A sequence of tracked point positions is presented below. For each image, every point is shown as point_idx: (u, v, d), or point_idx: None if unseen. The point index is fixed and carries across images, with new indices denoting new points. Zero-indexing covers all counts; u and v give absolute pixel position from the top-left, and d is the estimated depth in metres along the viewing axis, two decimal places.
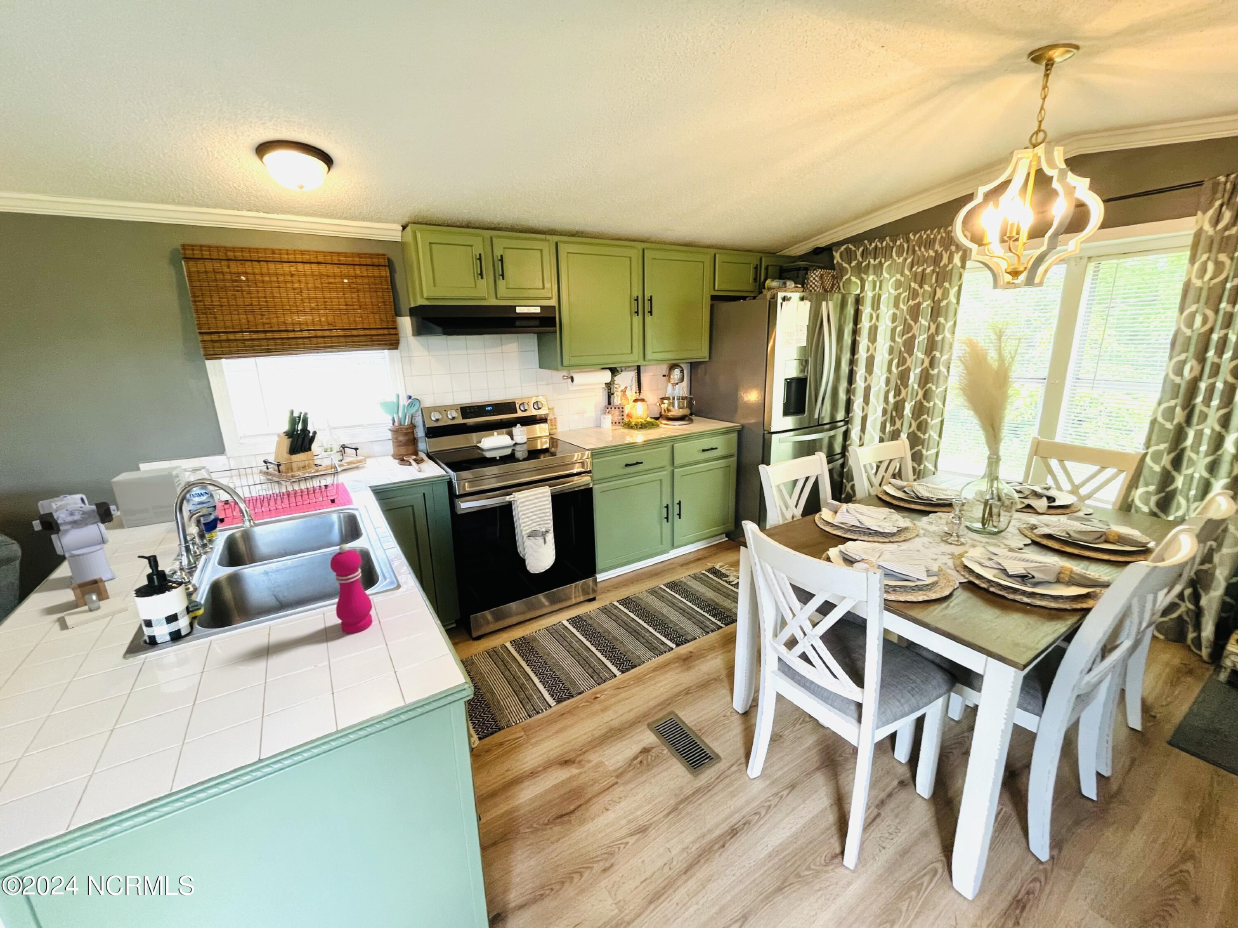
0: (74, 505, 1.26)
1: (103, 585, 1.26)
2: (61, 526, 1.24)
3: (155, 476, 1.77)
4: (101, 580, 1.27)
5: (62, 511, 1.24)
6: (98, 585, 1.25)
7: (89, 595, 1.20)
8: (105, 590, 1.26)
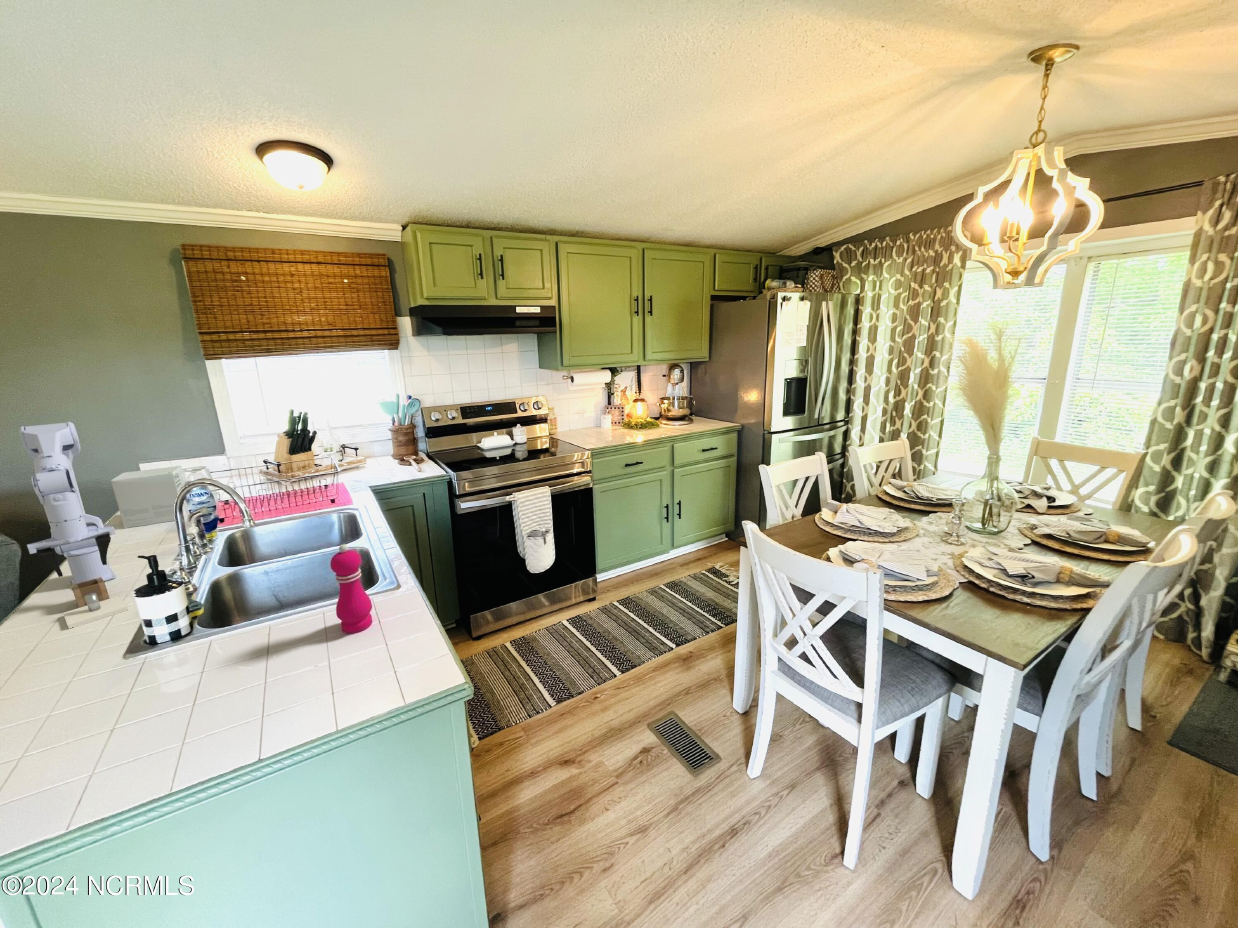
0: (76, 540, 1.20)
1: (103, 585, 1.26)
2: None
3: (155, 476, 1.77)
4: (101, 580, 1.27)
5: (62, 543, 1.19)
6: (98, 585, 1.25)
7: (89, 595, 1.20)
8: (105, 590, 1.26)
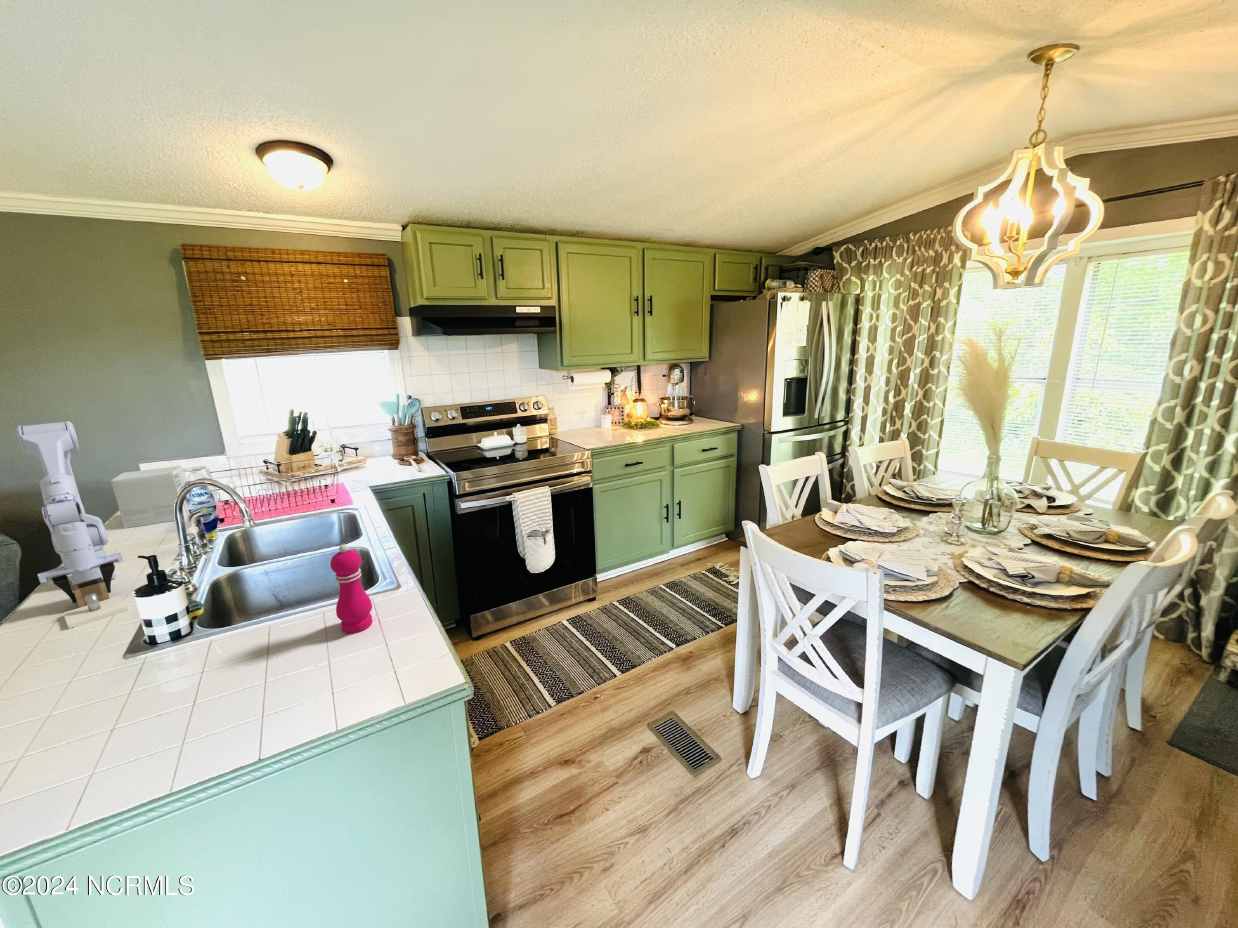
0: None
1: (103, 585, 1.26)
2: None
3: (155, 476, 1.77)
4: (101, 580, 1.27)
5: (71, 572, 1.21)
6: (98, 585, 1.25)
7: (89, 595, 1.20)
8: (105, 590, 1.26)
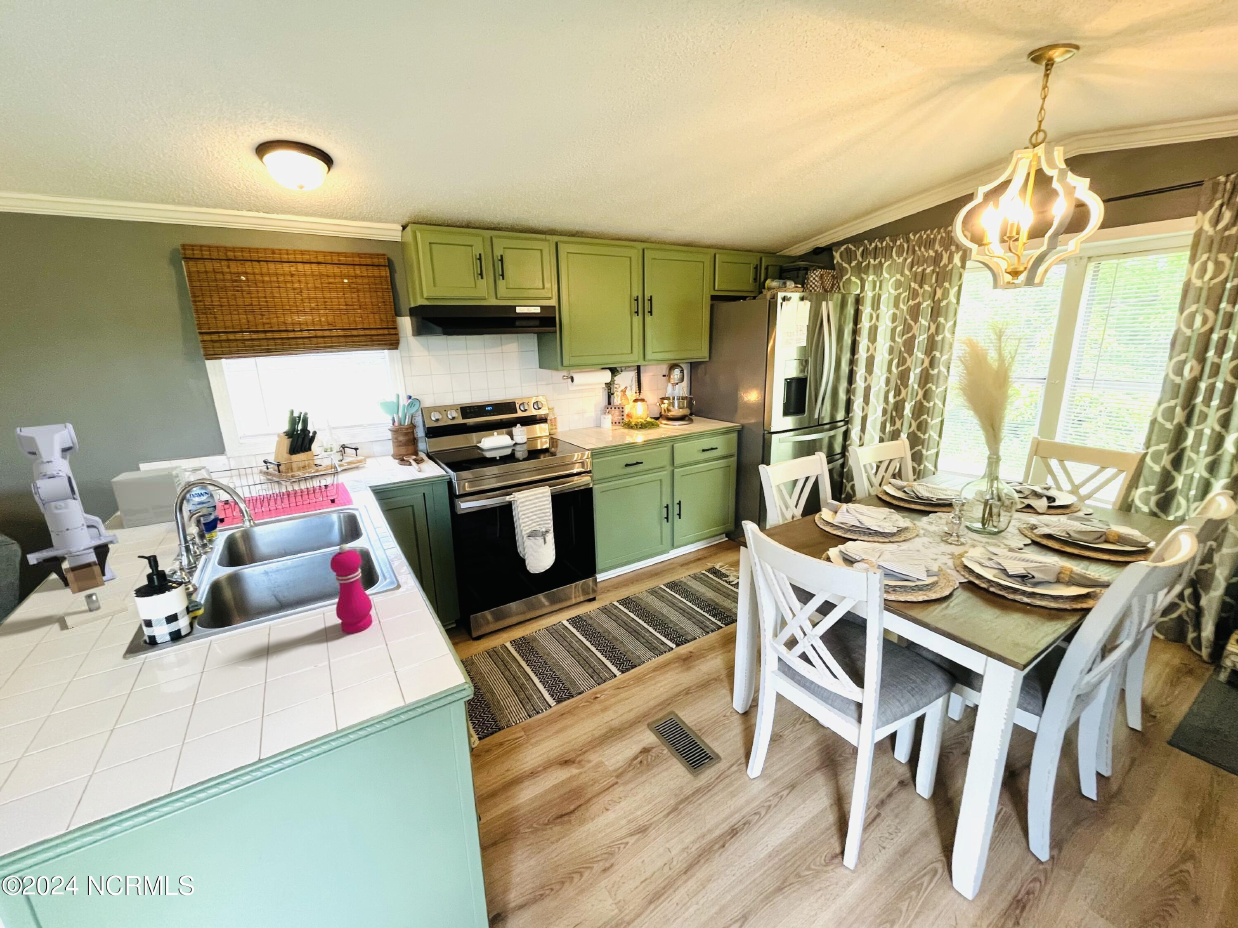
0: None
1: (97, 569, 1.18)
2: None
3: (155, 476, 1.77)
4: (95, 563, 1.20)
5: (63, 553, 1.14)
6: (92, 568, 1.18)
7: (89, 595, 1.20)
8: (99, 574, 1.19)
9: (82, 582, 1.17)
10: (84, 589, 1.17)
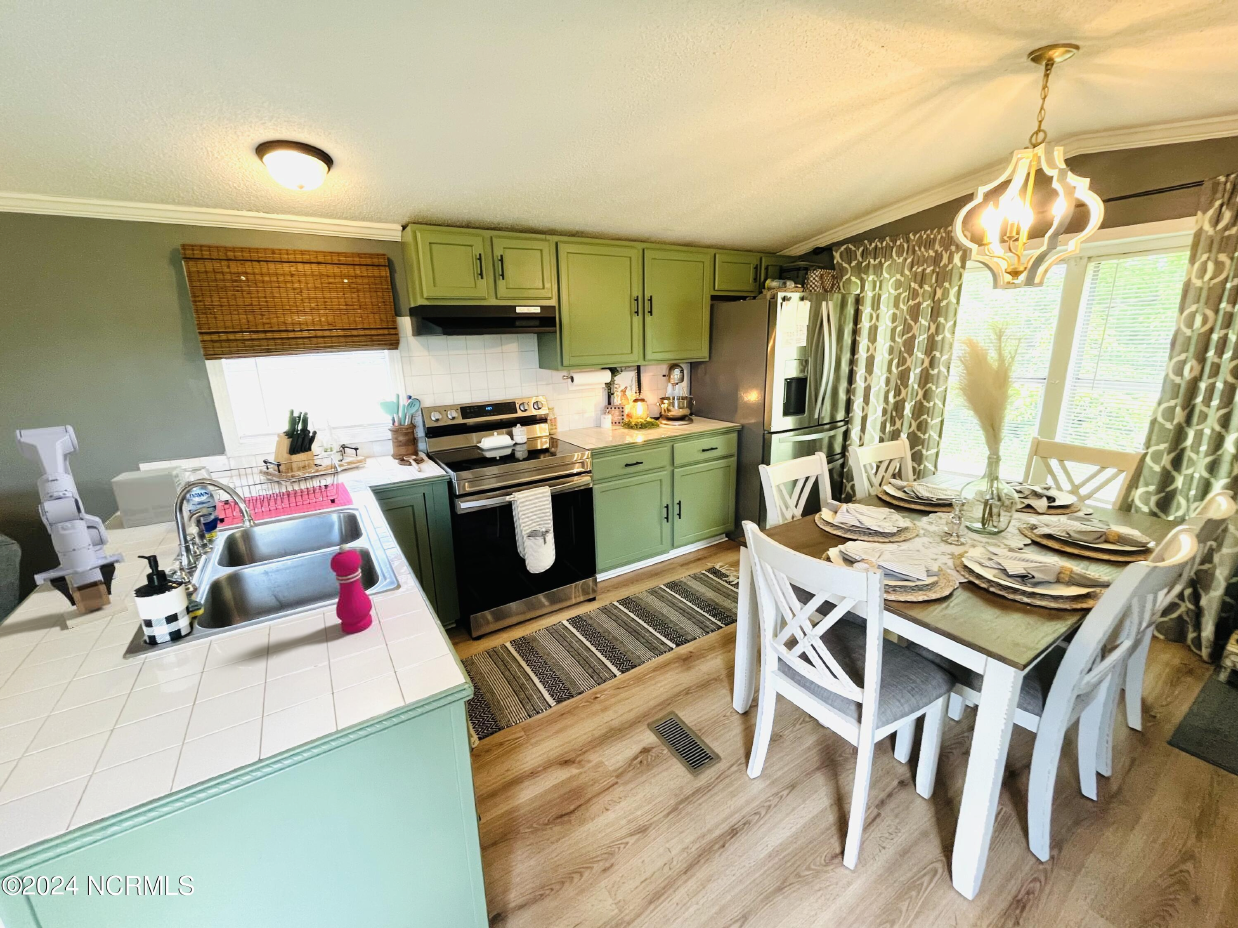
0: None
1: (103, 588, 1.20)
2: None
3: (155, 476, 1.77)
4: (101, 582, 1.21)
5: (70, 573, 1.15)
6: (98, 588, 1.19)
7: None
8: (106, 593, 1.20)
9: (88, 601, 1.18)
10: (90, 608, 1.18)
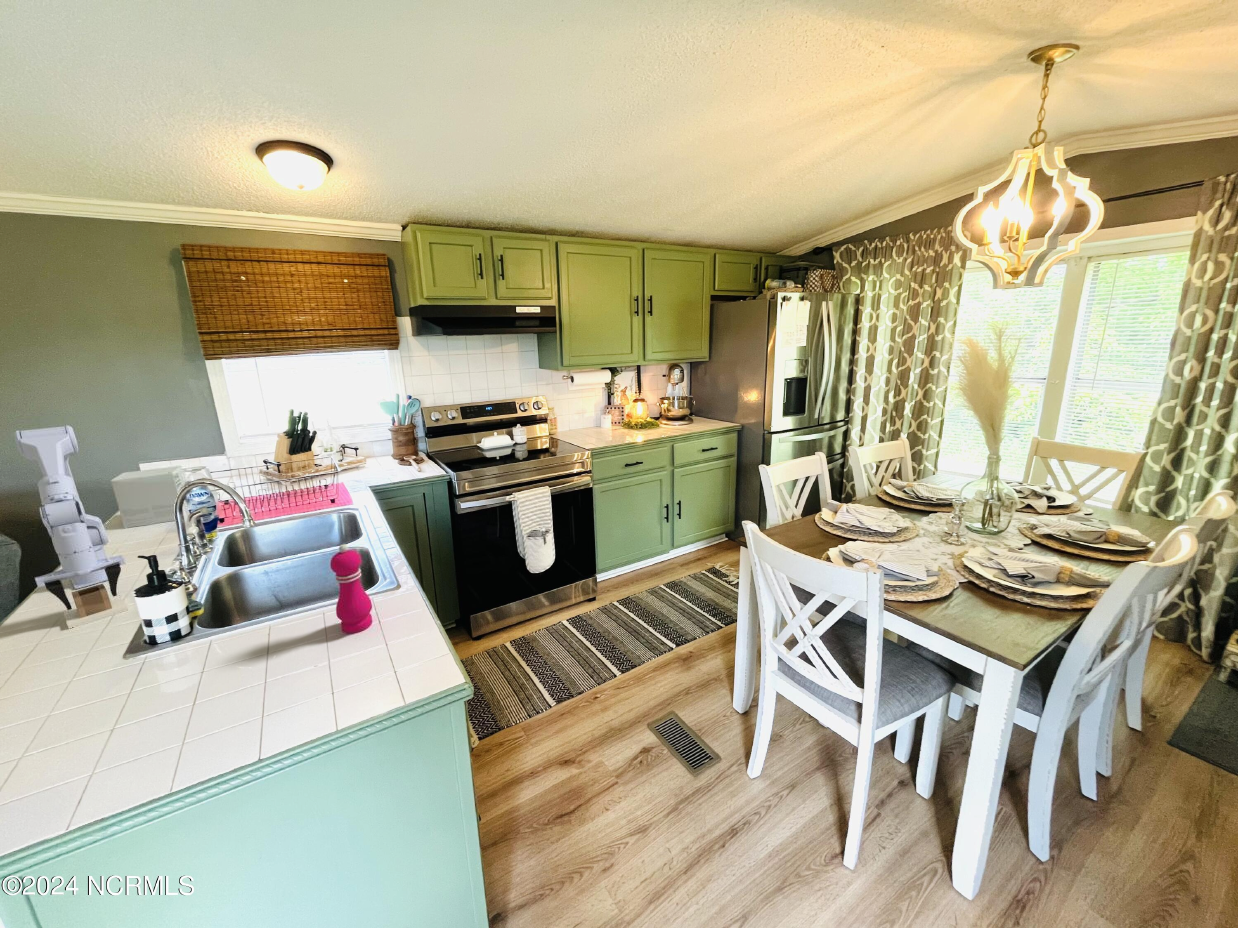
0: (85, 572, 1.16)
1: (105, 592, 1.20)
2: None
3: (155, 476, 1.77)
4: (103, 587, 1.21)
5: (71, 575, 1.15)
6: (99, 592, 1.19)
7: None
8: (107, 597, 1.20)
9: (90, 605, 1.18)
10: (92, 613, 1.19)
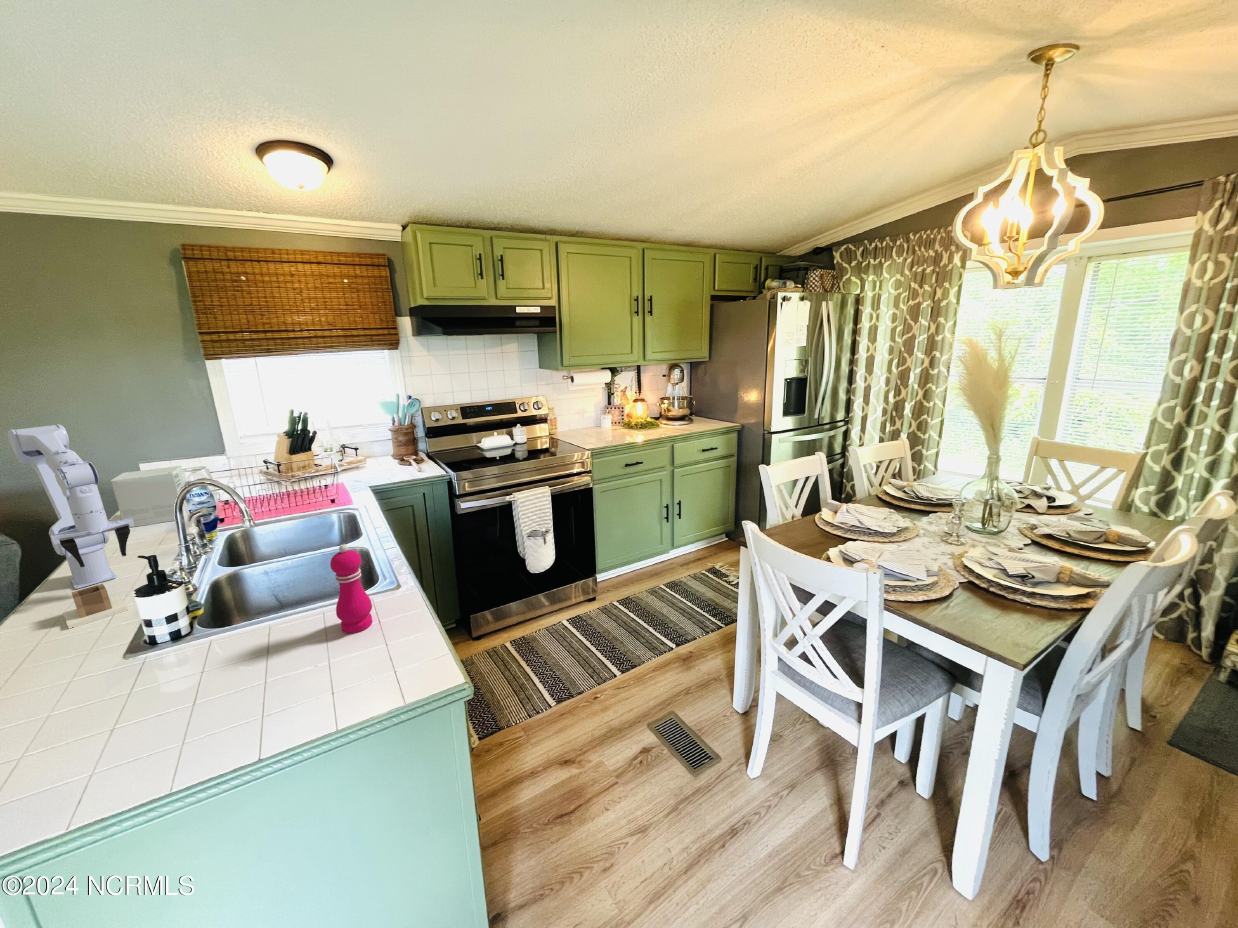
0: None
1: (105, 592, 1.20)
2: None
3: (155, 476, 1.77)
4: (103, 587, 1.21)
5: (84, 534, 1.23)
6: (99, 592, 1.19)
7: None
8: (107, 597, 1.20)
9: (90, 605, 1.18)
10: (92, 613, 1.19)
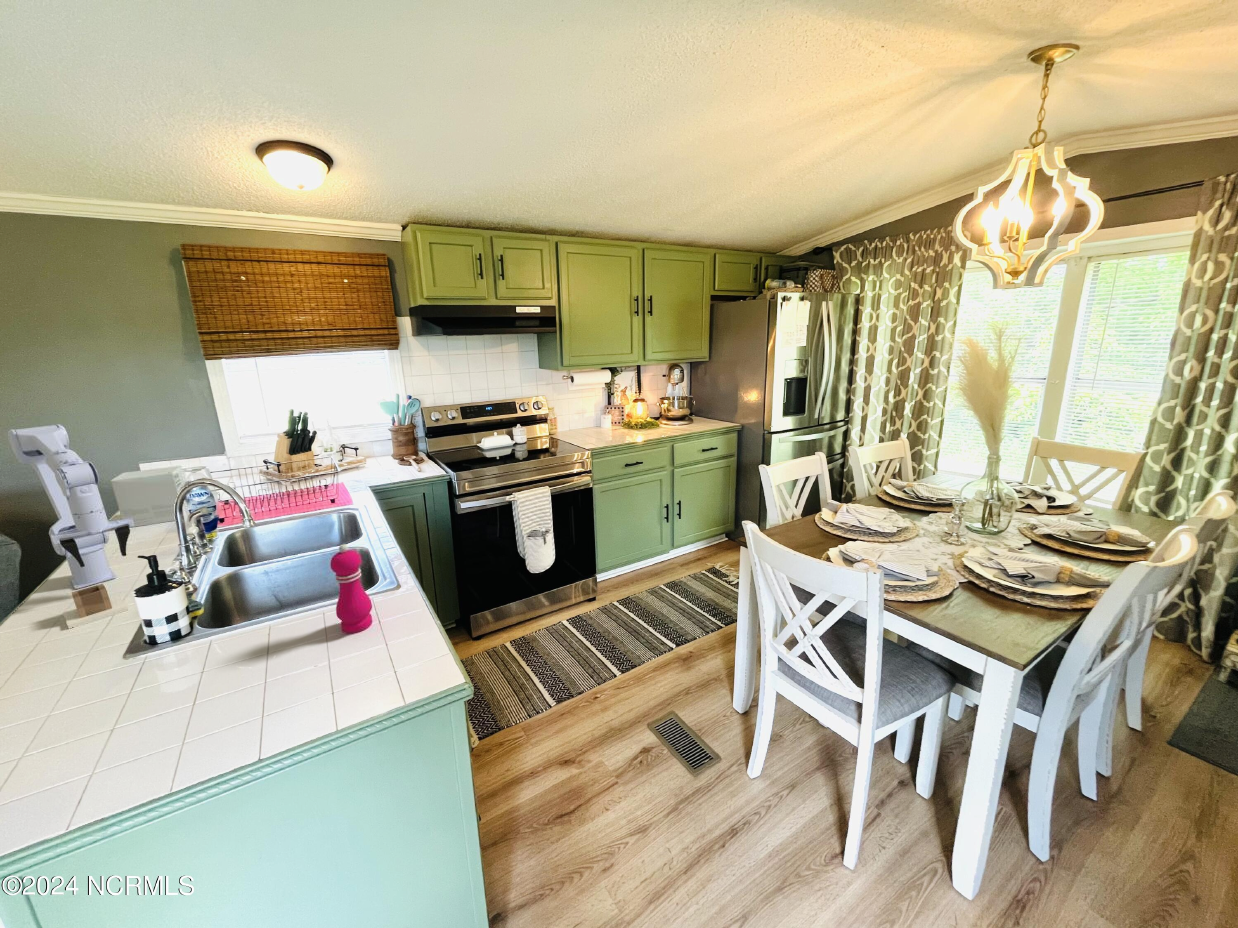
0: None
1: (105, 592, 1.20)
2: None
3: (155, 476, 1.77)
4: (103, 587, 1.21)
5: (84, 534, 1.23)
6: (99, 592, 1.19)
7: None
8: (107, 597, 1.20)
9: (90, 605, 1.18)
10: (92, 613, 1.19)
